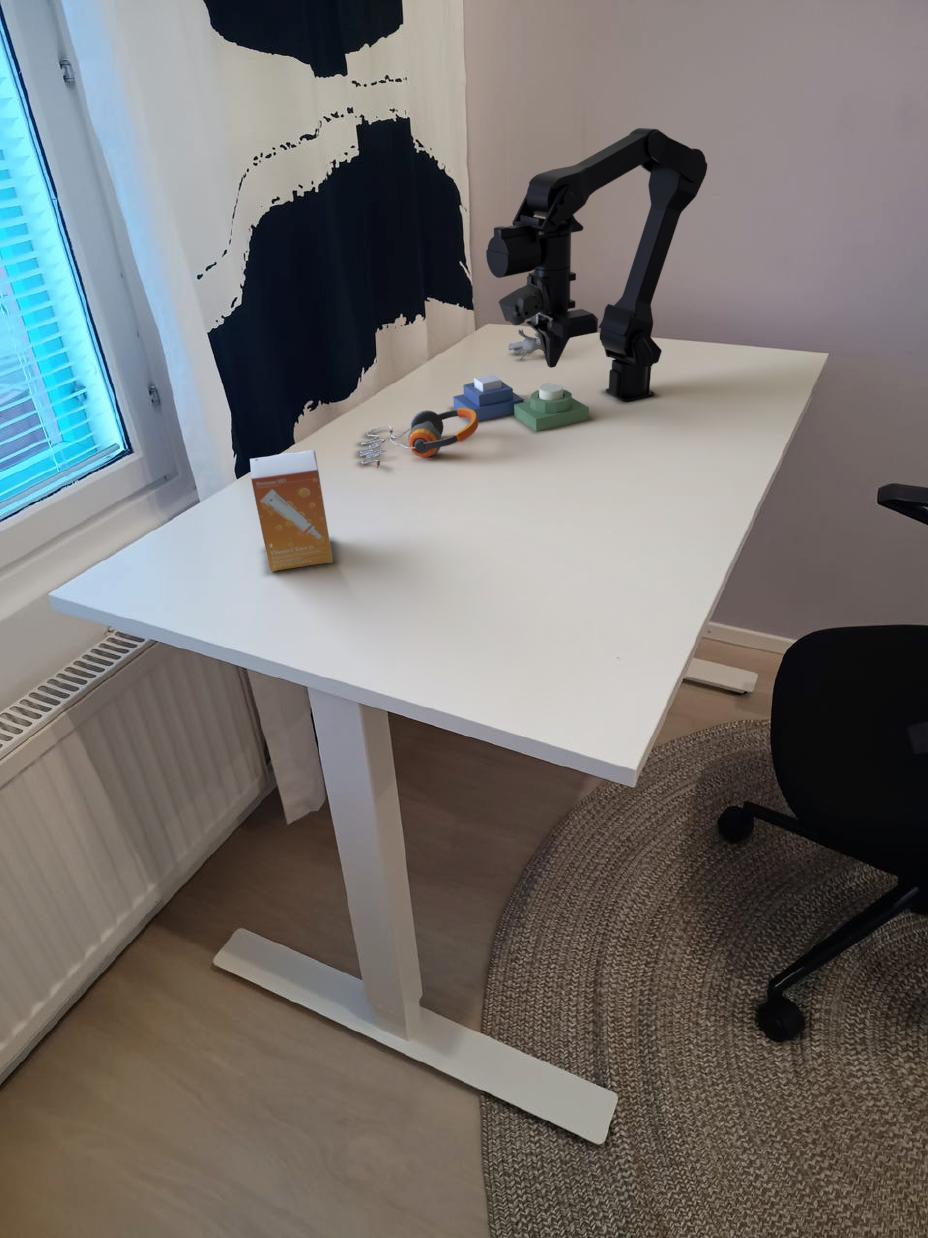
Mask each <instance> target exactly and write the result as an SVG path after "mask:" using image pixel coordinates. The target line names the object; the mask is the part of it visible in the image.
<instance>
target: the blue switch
mask: <svg viewBox="0 0 928 1238" xmlns="http://www.w3.org/2000/svg"><path fill="white" fill-rule="evenodd" d="M462 387H463V394H458V395H454V396H452V399H453V410H458V409H459V408H468V409H472V410H473V411H475V413H476V415H477V417H478V423H479V422H483V421H488V420H492V419H493V420H494V419H497V418H503V417H505V416H510V415H514V404H518V403H523V402H525V399H524V397H522V396H520V395H518V394H517V393H516V392H514V388H513V387H511V386H510V385H508V384H507V383H505V382H504V381H502V380H501V387H502V388H501V389H496V390H491V391H486V392H481V391H479V390H478V389H477V388H475V387H474V382H470V383H465V384H463V385H462ZM466 419H467V420H468V421H469V422H470V421H471V419H469V418H466Z"/></svg>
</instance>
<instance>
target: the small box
mask: <svg viewBox="0 0 928 1238" xmlns="http://www.w3.org/2000/svg"><path fill="white" fill-rule="evenodd" d="M249 466H250V480H251V486H252V492H253V497H254V502H255V507H256V512H257V516H258V520H259V526H260V530H261V534H262V541H263V545H264V549H265V554H266V558H267V563H268V568H269V572H271V573H272V572H277V571H282V570H283V571H284V570H288V569H294V568H295V569H296V568H301V567H307V566H314V565H320V564H329V563H330V564H331V563H333V561H334V559H333V553H332V548H331V541H330V534H329V527H328V522H327V515H326V509H325V503H324V496H323V490H322V484H321V477H320V472H319V466H318V460H317V455H316V451H315V449H311V450H304V451H297V452H287V453H279V454H274V455H268V456H261V457H254V458H249Z"/></svg>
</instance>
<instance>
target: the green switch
mask: <svg viewBox="0 0 928 1238" xmlns="http://www.w3.org/2000/svg"><path fill="white" fill-rule="evenodd" d="M589 409H590V408H589V406H587V405H586V404H584V403H582V402H581V401H579V400H577V399H576V398H574V397H573V393H572V392H570V391H569V390H567V389H564V388H563V398H562V399H558V400H543V399H540V398H539V389H537V390H535V391H533V392H532V393H530V399H529V400H528V401H524V402H523V403H518V404H514V414H513V415H514V418H516V419H518V421H520V422H522V423H523V424H524V425H526V426H527V427H529V428H531V429H532V431H534V432H540V431H544V430H549V429H554V428H559V427H562V426H566V425H570V424H575V423H580V422H584V421H588V420H589V412H590V411H589Z"/></svg>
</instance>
